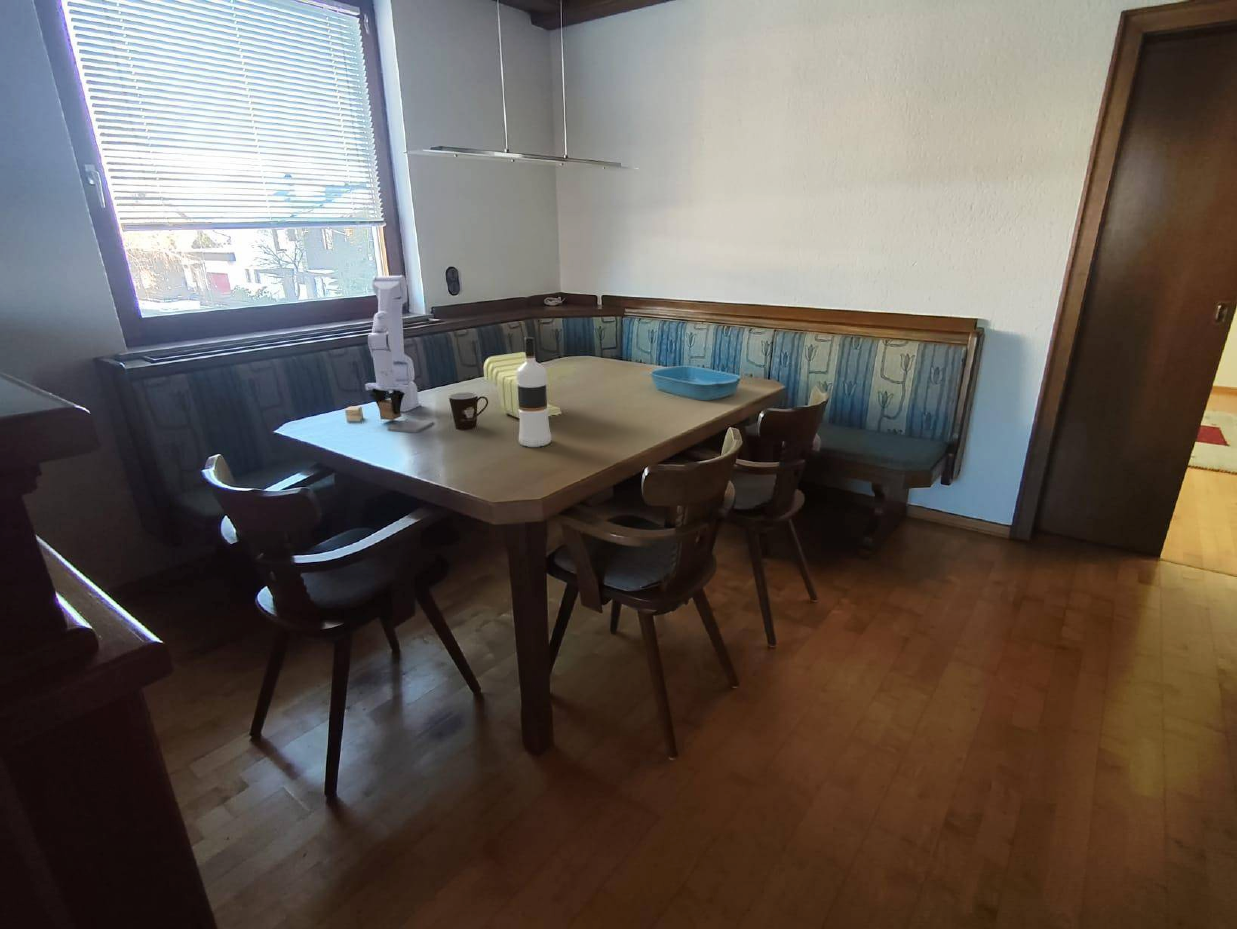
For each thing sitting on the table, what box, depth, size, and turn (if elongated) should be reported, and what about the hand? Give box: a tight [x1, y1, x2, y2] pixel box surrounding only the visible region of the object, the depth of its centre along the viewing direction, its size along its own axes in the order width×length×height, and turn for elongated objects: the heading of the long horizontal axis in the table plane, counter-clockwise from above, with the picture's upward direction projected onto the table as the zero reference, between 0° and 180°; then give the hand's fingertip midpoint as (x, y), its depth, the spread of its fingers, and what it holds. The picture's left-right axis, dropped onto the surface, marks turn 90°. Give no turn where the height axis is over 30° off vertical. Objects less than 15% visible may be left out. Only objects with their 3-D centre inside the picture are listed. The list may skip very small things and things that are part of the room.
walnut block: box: [378, 398, 402, 421], centre depth 207 cm, size 4×4×6 cm
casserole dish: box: [649, 365, 742, 401], centre depth 241 cm, size 37×22×7 cm, turn 38°
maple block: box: [344, 405, 364, 422], centre depth 211 cm, size 4×4×4 cm
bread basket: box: [483, 351, 576, 419], centre depth 212 cm, size 30×16×18 cm, turn 39°
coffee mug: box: [448, 391, 489, 431], centre depth 200 cm, size 12×9×10 cm
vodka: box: [516, 336, 552, 448], centre depth 180 cm, size 9×9×30 cm
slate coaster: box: [387, 418, 435, 434], centre depth 202 cm, size 10×10×1 cm
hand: (390, 413), depth 208 cm, fingers closed on walnut block, 4 cm apart
